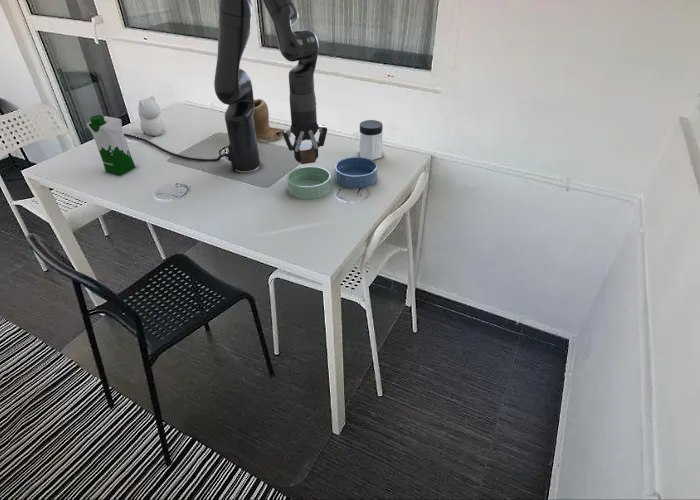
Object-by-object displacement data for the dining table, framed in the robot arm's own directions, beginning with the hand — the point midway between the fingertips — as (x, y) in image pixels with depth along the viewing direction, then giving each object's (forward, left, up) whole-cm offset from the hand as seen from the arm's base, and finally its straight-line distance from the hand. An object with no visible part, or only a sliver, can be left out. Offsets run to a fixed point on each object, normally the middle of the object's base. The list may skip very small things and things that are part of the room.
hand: (306, 159), depth 141 cm
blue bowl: (+15, +7, -11) cm, 20 cm away
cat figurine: (-70, +47, -11) cm, 85 cm away
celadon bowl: (0, 0, -11) cm, 11 cm away
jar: (+20, +26, -11) cm, 35 cm away
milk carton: (-69, +14, -11) cm, 71 cm away
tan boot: (-23, +42, -11) cm, 49 cm away
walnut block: (0, 0, 0) cm, 0 cm away
